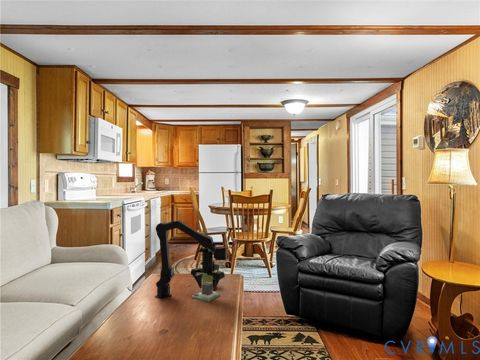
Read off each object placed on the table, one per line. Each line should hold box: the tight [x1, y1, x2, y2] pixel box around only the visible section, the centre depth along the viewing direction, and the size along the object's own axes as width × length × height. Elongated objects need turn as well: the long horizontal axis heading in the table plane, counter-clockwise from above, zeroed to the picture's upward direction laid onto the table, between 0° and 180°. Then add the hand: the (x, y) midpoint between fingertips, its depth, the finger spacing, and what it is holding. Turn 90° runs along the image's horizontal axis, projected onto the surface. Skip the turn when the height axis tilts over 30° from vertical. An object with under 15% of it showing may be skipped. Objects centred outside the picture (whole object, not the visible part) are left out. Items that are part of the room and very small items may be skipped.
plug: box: [201, 282, 214, 295], centre depth 186 cm, size 4×4×6 cm
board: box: [191, 290, 220, 302], centre depth 187 cm, size 10×11×2 cm
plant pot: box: [202, 270, 217, 284], centre depth 207 cm, size 9×9×9 cm
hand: (207, 289), depth 186 cm, fingers open, 9 cm apart
